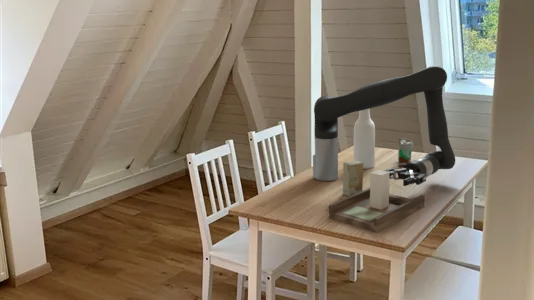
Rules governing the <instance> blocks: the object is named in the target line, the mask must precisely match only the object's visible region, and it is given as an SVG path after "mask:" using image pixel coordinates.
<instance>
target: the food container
mask: <svg viewBox="0 0 534 300" xmlns="http://www.w3.org/2000/svg"><path fill="white" fill-rule="evenodd" d="M413 148H414V143H413V140H411V139H408V138H402V137H401V138H400V137H399V138H398V149H397V150H398V153H397V154H398V157H397V160H398V162H397V163H398V167H399V168H403V167H404V166H405V165H406V164H407V163H409V162H412V161H411V159H412V152H413V151H412V150H413Z"/></svg>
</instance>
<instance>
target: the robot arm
mask: <svg viewBox="0 0 534 300" xmlns="http://www.w3.org/2000/svg"><path fill="white" fill-rule="evenodd" d="M447 80H448V74H447V72H446V70H445V69H444V68H443V67H441V66H440V65H430V66H428V67H426V68H422V69H421V70H419V71H416V72H414V73H411V74H408V75H404V76H398V77H392V78H387V79H383V80H379V81H375V82H372V83H368V84H367V85H366V84H365V85H364V86H361V87H360V88H357V89H355V90H353V91H352V92H349V93H347V94H344V95H340V96H335V97H332V96H330V95H323V96H320V97H318V98H317V99H316V101H315V103H314V107H313V114H314V129H313V130H314V132H313V133H314V154H313V155H312V178H313V179H316V180H318V181H321V182H322V181H323V182H332V181H335V180H338V178H339V138H338V137H339V125H338V124H339V122H338V121H339V119H338V118H341V117H344V116H346V115H349V114H351V113H356V112H359V111H361V110H366V109H374V108H377V107H381V106H385V105H389V104H392V103H394V102H397V101H399V100H401V99H405V98H406V97H408V96H411V95H414V94H415V95H416V94H419V93H423V95H424V98H425V104H426V113H427V114H426V115H427V129H428V138H429V139H428V140H429V143H430V145H431V146H436V147H438V148H439V149H440V150H435V151H433V150H432V151H430V152H428V153H426V154H425V156H424V157H423V156H422V157H421V158H417V159H414V160H412V161H411V162H409V163H407V164H406V165H405V166H404V167H401V168H399V169H398V168H397V169H396V167H394V166H393V167H390V168H387V169H384V170H383V171H387V172H389V180H391V179H392V180H395V181H396V180H397V181H398V180H402V181H403V183H402V184H403V185H402V186H404V187H407V186H409V185H414V184H415V185H417V186H419V185H421V184H423V183H425V182H427V178H428V177H429V176H431V175H433V174H435V173H437V172H438V171H439V170H451V169H453V168H454V166H455V164H456V156H455V153H454V150H453V148H452V144H451V142H450V140H449V131H448V124H447V123H448V122H447V117H446V113H445V108H444V100H443V90H444V88H443V87H444V86H445V84H446V83H447Z"/></svg>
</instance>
